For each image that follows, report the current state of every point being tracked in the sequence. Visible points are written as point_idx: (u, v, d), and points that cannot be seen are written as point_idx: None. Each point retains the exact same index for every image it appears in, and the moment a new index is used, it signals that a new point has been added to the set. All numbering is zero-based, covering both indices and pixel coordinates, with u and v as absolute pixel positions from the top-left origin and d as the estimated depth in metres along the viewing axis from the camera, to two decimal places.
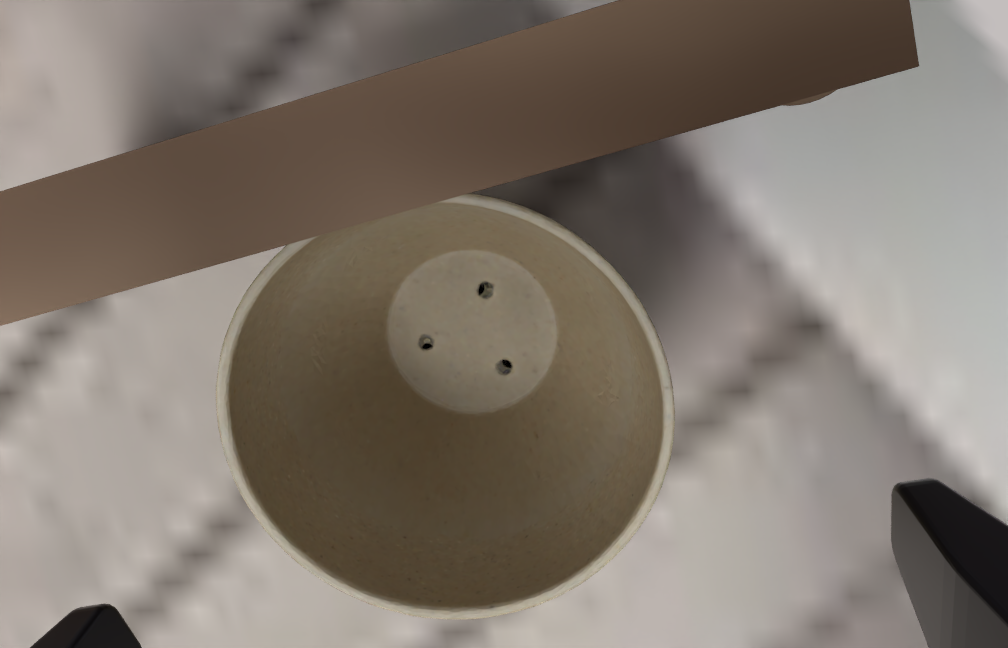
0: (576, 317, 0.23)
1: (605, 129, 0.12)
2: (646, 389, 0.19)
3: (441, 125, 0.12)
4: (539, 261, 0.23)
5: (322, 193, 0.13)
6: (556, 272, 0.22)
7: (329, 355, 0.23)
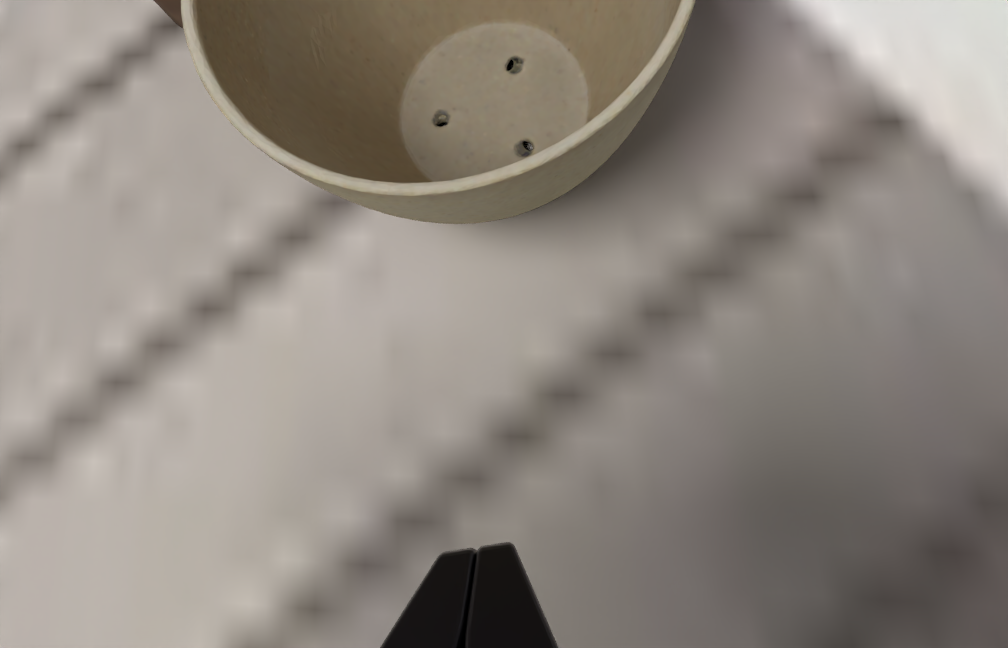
0: (609, 59, 0.20)
1: None
2: None
3: None
4: (574, 3, 0.21)
5: None
6: (591, 2, 0.20)
7: (331, 60, 0.20)
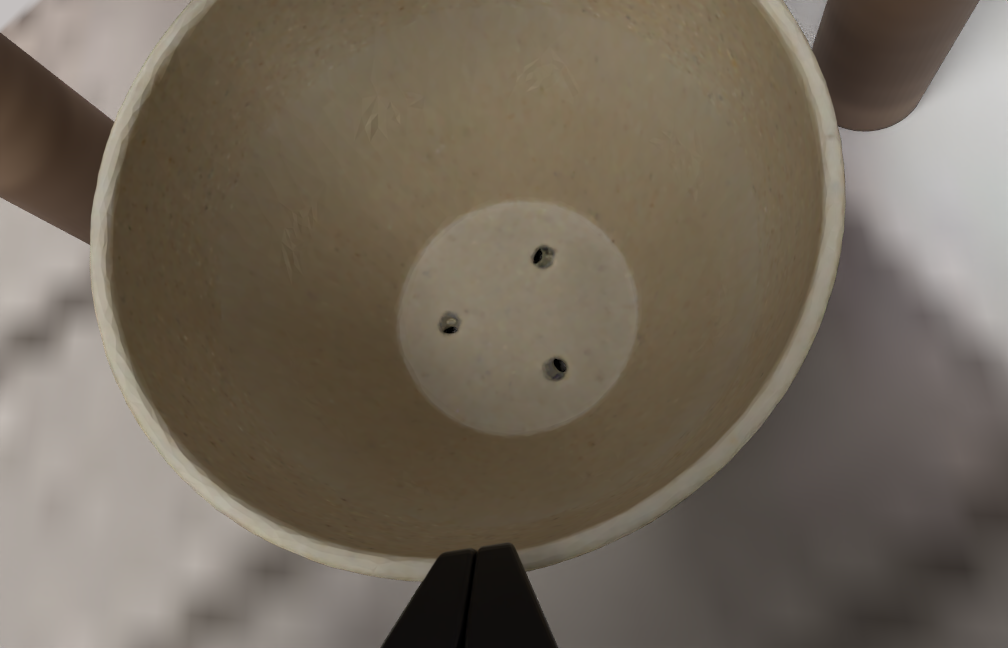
0: (668, 269, 0.16)
1: None
2: (786, 228, 0.12)
3: None
4: (622, 191, 0.16)
5: None
6: (646, 195, 0.16)
7: (309, 265, 0.16)
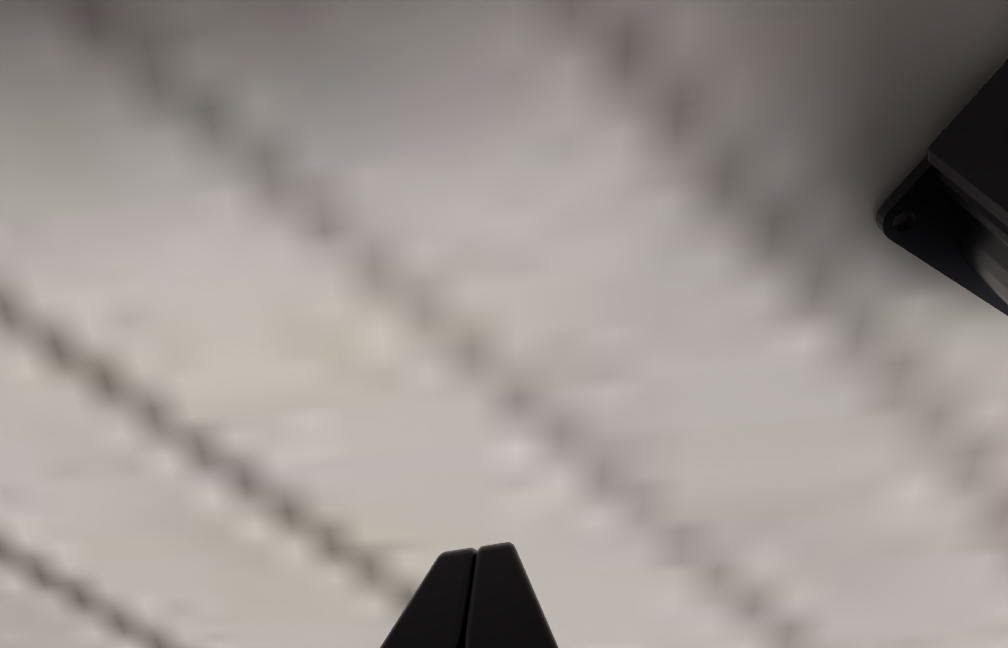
0: None
1: None
2: None
3: None
4: None
5: None
6: None
7: None
